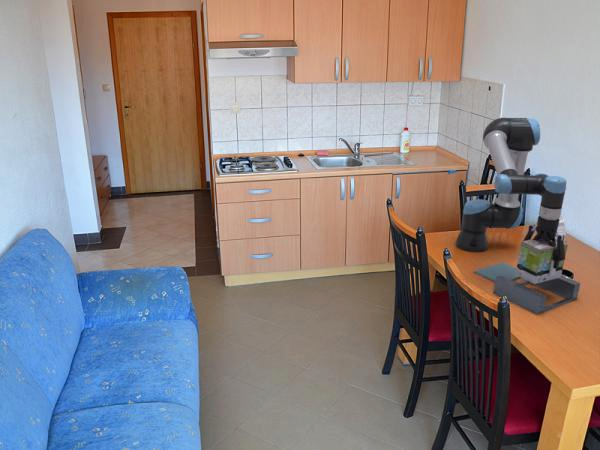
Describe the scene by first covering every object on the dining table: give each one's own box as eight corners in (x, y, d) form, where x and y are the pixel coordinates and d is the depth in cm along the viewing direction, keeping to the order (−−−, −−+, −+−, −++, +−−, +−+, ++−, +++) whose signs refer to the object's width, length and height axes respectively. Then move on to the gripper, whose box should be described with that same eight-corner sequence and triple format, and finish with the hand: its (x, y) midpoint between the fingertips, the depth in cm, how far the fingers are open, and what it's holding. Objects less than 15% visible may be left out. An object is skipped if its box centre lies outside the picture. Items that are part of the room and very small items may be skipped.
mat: (473, 272, 235) (474, 271, 235) (502, 263, 245) (502, 262, 244) (500, 284, 224) (500, 283, 224) (528, 275, 234) (529, 273, 233)
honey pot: (535, 242, 272) (541, 208, 266) (539, 234, 282) (545, 202, 276) (562, 247, 265) (569, 213, 259) (565, 239, 276) (572, 206, 270)
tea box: (535, 285, 204) (542, 249, 199) (514, 275, 213) (520, 240, 208) (561, 277, 211) (568, 243, 206) (540, 268, 219) (546, 234, 214)
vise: (493, 293, 216) (495, 277, 214) (541, 276, 232) (544, 261, 230) (537, 314, 200) (541, 297, 198) (586, 295, 216) (590, 279, 214)
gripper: (517, 210, 210) (508, 261, 218) (571, 227, 192) (559, 283, 200) (529, 207, 214) (520, 257, 222) (583, 224, 196) (571, 278, 204)
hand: (539, 269), depth 211 cm, fingers closed on tea box, 10 cm apart
